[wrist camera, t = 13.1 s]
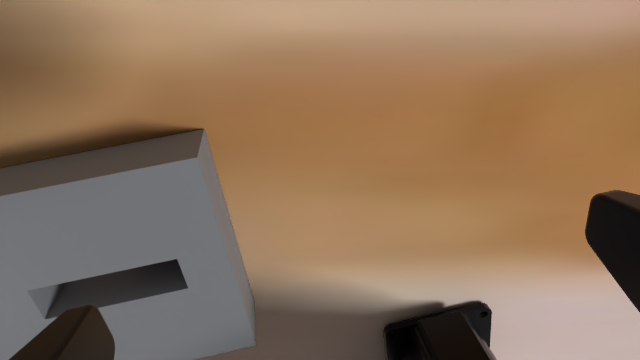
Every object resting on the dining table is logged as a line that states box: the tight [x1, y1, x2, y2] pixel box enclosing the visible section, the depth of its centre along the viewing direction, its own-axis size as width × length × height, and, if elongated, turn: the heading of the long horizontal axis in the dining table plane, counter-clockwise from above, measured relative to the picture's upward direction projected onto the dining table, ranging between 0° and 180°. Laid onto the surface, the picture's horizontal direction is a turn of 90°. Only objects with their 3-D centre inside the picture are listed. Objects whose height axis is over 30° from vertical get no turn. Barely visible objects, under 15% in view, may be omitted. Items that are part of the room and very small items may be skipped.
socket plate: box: [0, 129, 256, 360], centre depth 19 cm, size 10×20×3 cm, turn 98°
